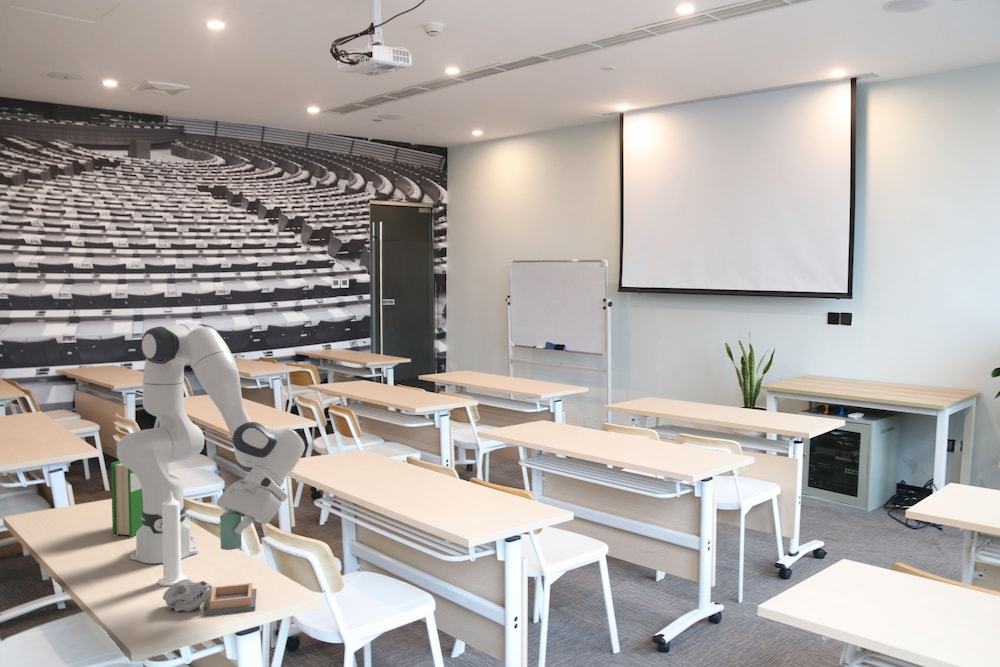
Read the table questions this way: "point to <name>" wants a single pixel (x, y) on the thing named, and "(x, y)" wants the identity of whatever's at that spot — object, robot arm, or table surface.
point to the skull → (187, 595)
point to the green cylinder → (230, 531)
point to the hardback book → (126, 500)
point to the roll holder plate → (231, 599)
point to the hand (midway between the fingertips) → (228, 530)
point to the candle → (171, 542)
